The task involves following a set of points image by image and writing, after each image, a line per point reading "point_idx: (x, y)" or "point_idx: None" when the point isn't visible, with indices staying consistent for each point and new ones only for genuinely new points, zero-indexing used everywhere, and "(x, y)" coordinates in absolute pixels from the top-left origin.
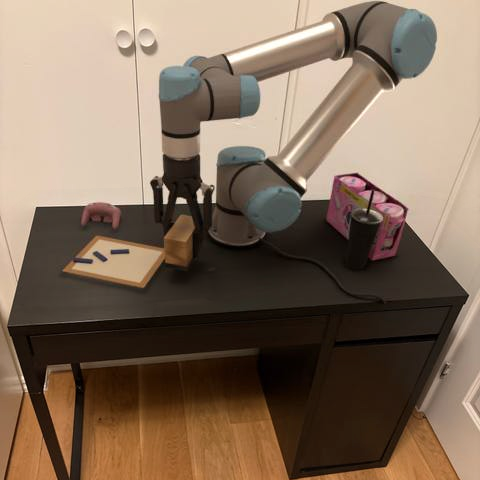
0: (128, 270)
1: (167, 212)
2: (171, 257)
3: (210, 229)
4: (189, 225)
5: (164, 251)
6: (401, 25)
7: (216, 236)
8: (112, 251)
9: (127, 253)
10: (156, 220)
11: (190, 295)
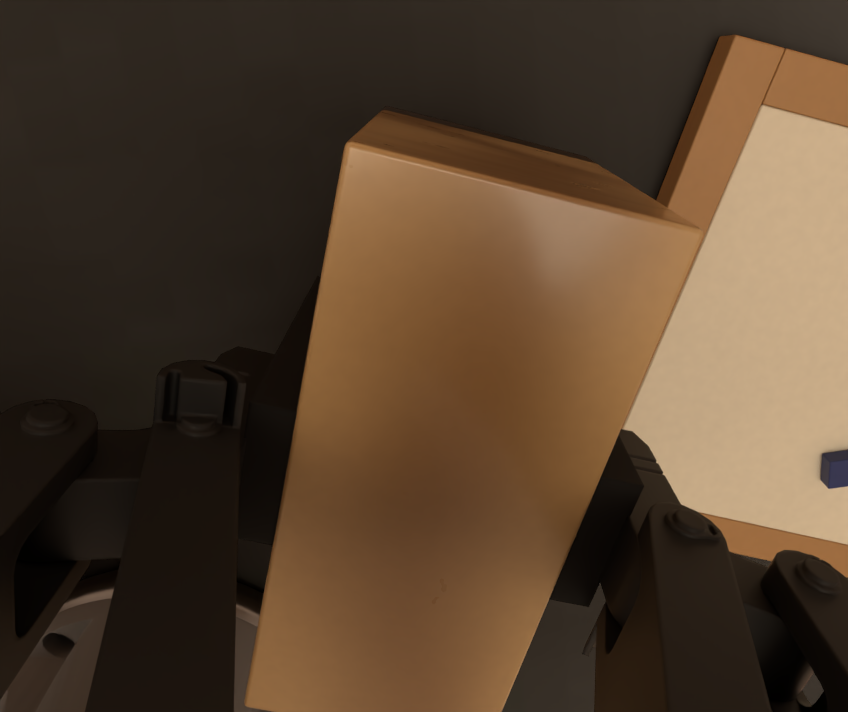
0: (842, 260)
1: (727, 697)
2: (544, 155)
3: None
4: (359, 560)
5: None
6: None
7: None
8: None
9: (834, 452)
10: (832, 579)
11: (365, 31)
